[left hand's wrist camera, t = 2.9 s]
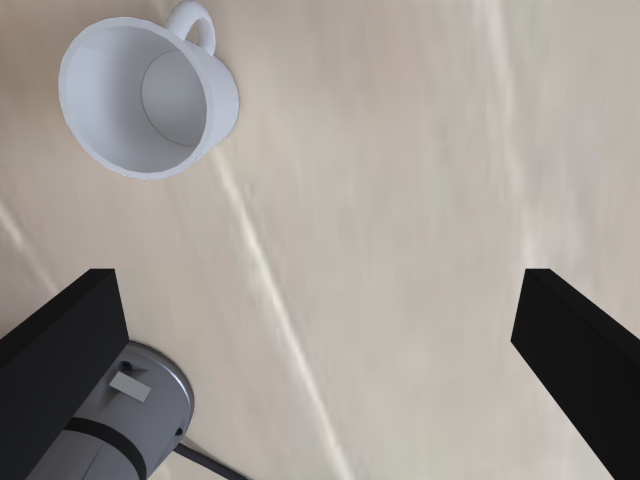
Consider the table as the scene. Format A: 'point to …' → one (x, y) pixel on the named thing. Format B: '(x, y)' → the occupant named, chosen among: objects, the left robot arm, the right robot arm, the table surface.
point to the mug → (148, 93)
